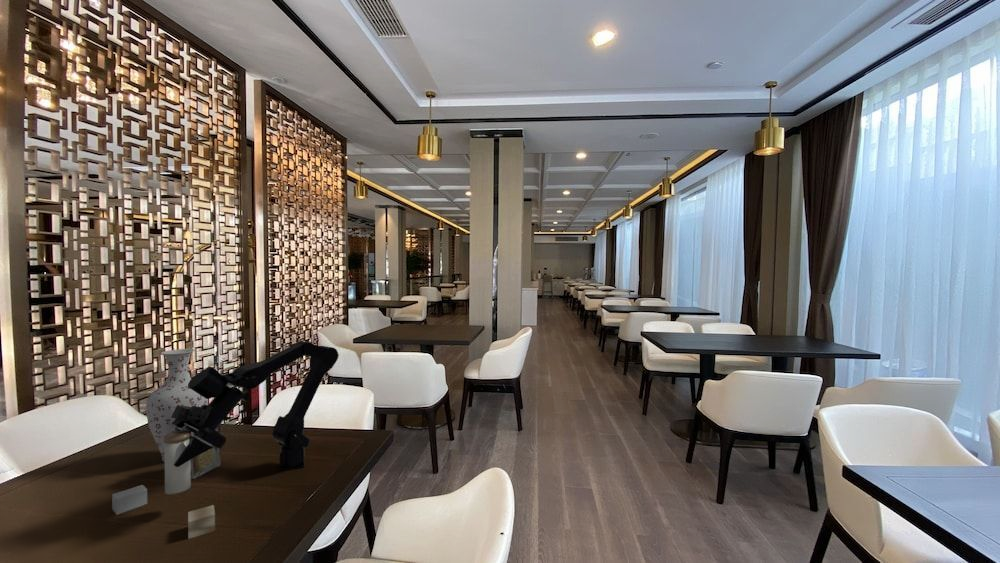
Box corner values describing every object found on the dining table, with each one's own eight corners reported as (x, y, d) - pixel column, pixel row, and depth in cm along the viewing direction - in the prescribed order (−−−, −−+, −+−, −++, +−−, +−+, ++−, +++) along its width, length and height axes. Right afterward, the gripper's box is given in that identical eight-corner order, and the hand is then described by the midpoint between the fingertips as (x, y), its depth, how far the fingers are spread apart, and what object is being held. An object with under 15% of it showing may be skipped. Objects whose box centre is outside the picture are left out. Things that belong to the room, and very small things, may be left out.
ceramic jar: (193, 481, 107) (193, 428, 106) (188, 491, 102) (187, 436, 101) (168, 485, 104) (167, 432, 104) (161, 496, 99) (160, 440, 99)
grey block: (142, 499, 109) (142, 484, 109) (147, 504, 106) (147, 489, 106) (112, 509, 104) (112, 494, 104) (116, 515, 101) (116, 499, 101)
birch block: (213, 520, 100) (213, 504, 100) (215, 531, 96) (214, 514, 96) (188, 528, 97) (188, 512, 96) (188, 539, 93) (188, 522, 93)
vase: (144, 472, 123) (144, 358, 122) (147, 454, 135) (147, 350, 135) (210, 458, 133) (209, 352, 132) (207, 441, 145) (206, 345, 145)
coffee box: (205, 463, 129) (204, 413, 129) (221, 465, 128) (221, 415, 127) (176, 477, 120) (175, 423, 120) (193, 479, 119) (193, 425, 119)
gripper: (180, 386, 111) (128, 440, 102) (211, 398, 101) (156, 459, 92) (213, 407, 118) (167, 459, 109) (245, 420, 108) (197, 478, 99)
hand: (171, 463), depth 102 cm, fingers closed on ceramic jar, 5 cm apart
